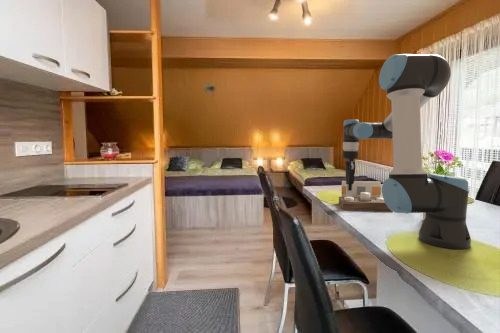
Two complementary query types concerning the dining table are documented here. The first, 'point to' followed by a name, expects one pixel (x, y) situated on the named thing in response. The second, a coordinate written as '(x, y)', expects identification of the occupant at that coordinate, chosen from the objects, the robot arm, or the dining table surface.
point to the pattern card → (363, 188)
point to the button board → (363, 204)
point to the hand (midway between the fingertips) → (349, 196)
